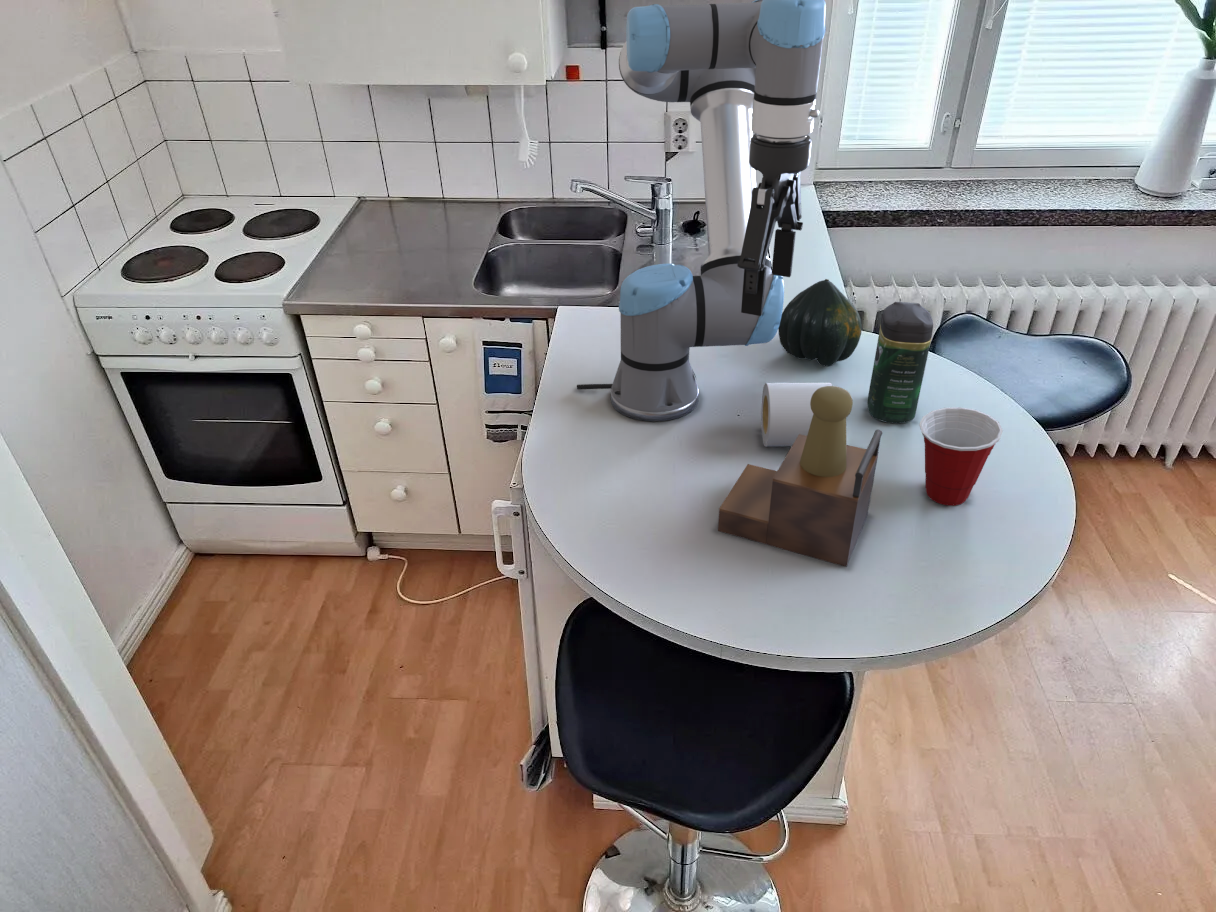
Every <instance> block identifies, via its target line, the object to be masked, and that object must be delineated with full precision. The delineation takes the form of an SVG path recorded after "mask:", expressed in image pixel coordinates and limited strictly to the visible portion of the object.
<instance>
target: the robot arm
mask: <svg viewBox="0 0 1216 912" xmlns="http://www.w3.org/2000/svg"><path fill="white" fill-rule="evenodd" d="M826 4H827V3H826V1H825V0H753V1H751V2H749V1H748V2H727V3H709V4H664V5H663V4H662V5H661V4H659V3H654V4H650V5H646V6H645V5H644V6H634V7H632V8H631V9H630V10H629V11H628V12H627V14H626V15H627V16H626V25H625V27H626V28H625V29H626V30H625V33H626V34H625V42H624V44H623V46H622V48H621V51H620V53H619V57H618V70H619V74H620V77H621V79H622V82H623V83H624V84H625V85H626V86H627V88H628V89H629V90H631V91H632V92H634V93H635V94H637V95H639V96H641V97H643V98H647V99H649V100H652V101H656V102H663V103H689V107H690V114H691V115H692V117H693V118H694V119H696V120H697V121H698V122H700V135H701V136H700V137H701V154H702V169H703V185H704V187H703V188H704V198H705V199H704V200H705V201H704V202H705V215H706V216H705V217H706V231H707V232H706V233H707V251H708V255H707V256H708V257H707V258H706V259H704V261H703V262H702V263H701V265H700V275H693V273H692V271H691V269H690V268H688V266H685V265H683V264H675V263H659V264H658V263H657V264H652V265H648V266H644V267H642V268H641V267H640V268H639V269H637V270H634V271H633V272H631V273H629V274H628V275H627V276H626V277H625V278H624V280H623V281H622V283H621V284H620V285H621V286H620V291H619V292H620V293H619V303H618V312H619V314H620V361H619V364H618V367H617V370H616V373H615V375H614V378H613V381H612V383H587V384H586V383H583V384H581V383H580V384H576V390H610V403H611V405H612V406H613V408H614V409H615V410H616V411H617V412H618V413H620V414H621V415H624V416H626V417H628V418H631V419H635V420H638V421H644V422H645V421H646V422H664V421H671V420H676V419H679V418H682V417H684V416H686V415H688V414H690V413H691V412H692V411H694V410H695V409H696V408H697V406H698V404H699V393H700V392H699V387H698V383H697V377H696V376H697V375H696V374H695V372H694V369H693V367H692V365H691V362H690V348H703V347H704V348H706V347H728V346H729V347H731V346H744V347H748V346H749V345H759V344H767V343H770V341H772V340H773V339H775V337H776V335H777V333H778V332H779V330H778V328H779V325H780V321H781V316H782V313H783V311H784V301H785V282H784V277H785V278H791V276H792V270H793V261H794V253H795V244H796V234H797V232H796V231H802V230H803V225H804V222H802V221H801V220H802V217H803V216H802V191H801V190H802V189H801V188H802V187H801V186H802V185H801V172H804V171H805V170H806V169H808V167H809V165H810V161H811V153H812V142H813V139H812V138H811V136H810V134H811V133H813V129H814V123H815V119H816V118H818V117H819V116H820V110H819V109H817V108H815V105H816V101H817V95H818V87H819V78H820V69H821V61H822V53H823V46H824V45H823V44H824V37H825V34H826V31H827V27H826V9H827V8H826V7H827V5H826ZM756 171H758V172H759V173H761V175H762V177H761V182H759V183H758V186H757V177H756ZM776 223H777V227H778V228H777V229H775V227H776ZM773 234H774V235H773ZM773 236H774V243H773V251H772V252H773V253H772V262H771V258H769V256H768V253H769V250H770V245H771V242H772V238H773Z"/></svg>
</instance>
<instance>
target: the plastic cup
mask: <svg viewBox="0 0 1216 912" xmlns="http://www.w3.org/2000/svg"><path fill="white" fill-rule="evenodd" d="M918 426H919V429H920V431H921V434H922V436H923V443H924V473H925V483H924V484H925V485H924V488H925V492H926V496H927V497H928V498H929V499H930V500H931V501H933V502H934V503H937V504H938V505H943V506H951V507H954V506H959V505H960V506H961V505H962V504H964V503H965V502H967V500H968V499H969V497H970V495H971V493H972V491H973V488H974V487H975V485H976V483H977V481H978V479H979V477H980V475H981V473H982V470H983V468H984V466H985V464H986V463H987V460H988V458H989V456H990V455H991V453H992V450H993V449H994V447H995V446H996V444H997V443H998V442H1000V440H1001V438H1002V435H1003V431H1004V430H1003V428H1002V425H1001V423H1000V422H999V421H998V420H997V419H996V418H994V417H993V416H992V415H990V414H988V413H985V412H983V411H980V410H977V409H972V408H968V407H961V406H959V407H957V406H955V407H942V408H938V409H933V410H931V411H929V412H928V413H926V414H925V415H923V416H922V417H921V419H920V421H919V425H918Z"/></svg>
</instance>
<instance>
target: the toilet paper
mask: <svg viewBox="0 0 1216 912" xmlns="http://www.w3.org/2000/svg"><path fill="white" fill-rule="evenodd" d="M825 386H834V385H833V383H832V382H765V383H764V385H763V387H762V394H761V404H760V425H761V428H760V429H761V437H762V443H763V445H764V447H792V445H793V443H794V442H795V440H796V438H797V437H798V435H799V434H801V435H806V436H807V435H808V431H809V428H810V424H811V421H812V417H813V412H812V410H811V406H810V402H811V397H812V395H813V393H814V392H815V391H816V390H817V389H818V388H821V387H825Z"/></svg>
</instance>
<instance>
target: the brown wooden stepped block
mask: <svg viewBox="0 0 1216 912" xmlns="http://www.w3.org/2000/svg"><path fill="white" fill-rule="evenodd" d="M882 436H883V431H882V430H881V429H875V430H874V433H873V434H872V437H871V439H870V441H869V443H868V445H867V448H863V447H858V446H854V445H850V444H846V470H845V471H844V472H843V473H842V474H840V475H837V476H833V477H821V476H816V475H813V474H810V473H808V472H807V471H805V470H804V469H803V468H802V467H801V465H800V459H801V456H802V452H803V449H804V445H805V442H806V438H807V436H806V435H801V434H799V435H798V437H797V438H796V440H795V442H794V443H793V445H792V446H790V448H789V450H788V452H787V453H786V455H785V457H784V459H783V461H782V462H781V464H780V466H779V467H778V468H777V470H774V469H772V468H771V469H770V468H766V467H762V466H758V465H754V464H750V463H747V464H746V466H745V467H744V469H743V471H742V472H741V473H740V475H739V477H738V478H737V480H736V482H735V483H734V485H733V486H732V488H731V489H730V491H729V492H728V494H727V495H726V496H725V498H724V500H723V502H722V503H721V505H720V506H719V508H718V525H717V531H718V532H719V533H723V534H727V535H731V536H735V537H738V538H742V539H745V540H748V541H753V542H755V543H756V542H757V543H759V544H763V545H766V546H769V547H773V548H777V549H781V550H785V551H788V552H791V553H795V554H798V555H802V556H806V557H810V558H813V559H815V560H819V561H820V560H821V561H825V562H828V563H830V564H834V565H838V566H842V567H845V568H847V567H848V564H849V562H850V560H851V557H852V555H853V552H854V550H855V548H856V546H857V543H858V540H859V538H860V536H861V533H862V530H863V527H864V525H865V523H866V520H867V518H868V514H869V509H870V503H871V498H872V492H873V486H874V482H875V481H874V480H875V475H876V470H877V463H878V458H879V453H880V452H879V450H880V446H881V445H880V444H881V439H882Z"/></svg>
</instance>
